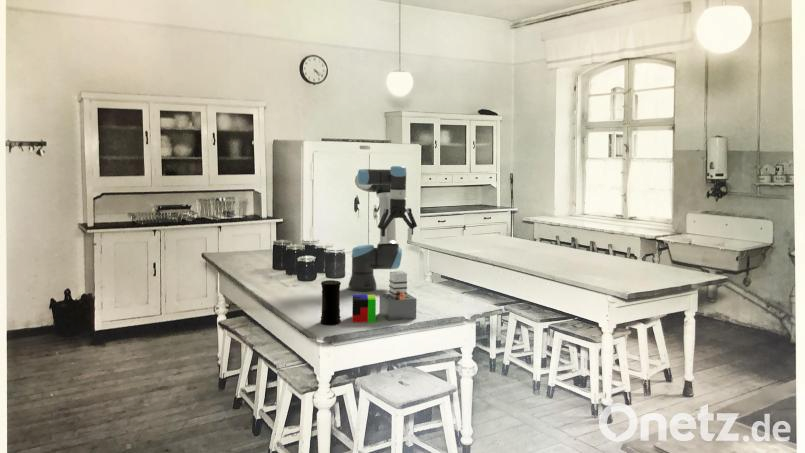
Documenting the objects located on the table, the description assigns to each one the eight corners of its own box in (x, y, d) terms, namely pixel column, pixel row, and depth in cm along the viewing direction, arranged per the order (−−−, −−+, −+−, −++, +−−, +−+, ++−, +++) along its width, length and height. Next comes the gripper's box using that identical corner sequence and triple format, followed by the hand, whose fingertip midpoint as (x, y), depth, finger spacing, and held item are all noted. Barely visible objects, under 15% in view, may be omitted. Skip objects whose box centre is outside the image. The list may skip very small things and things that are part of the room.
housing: (388, 320, 291) (389, 294, 289) (379, 313, 303) (379, 288, 301) (416, 318, 295) (416, 292, 294) (405, 311, 307) (406, 286, 306)
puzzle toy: (352, 316, 297) (352, 294, 296) (374, 316, 298) (374, 294, 297) (352, 322, 287) (352, 300, 286) (375, 322, 288) (375, 299, 287)
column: (393, 318, 295) (394, 274, 292) (388, 314, 301) (389, 271, 298) (406, 317, 297) (407, 273, 295) (401, 313, 303) (402, 271, 301)
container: (329, 318, 292) (329, 279, 290) (345, 322, 287) (345, 281, 285) (315, 323, 285) (315, 282, 283) (331, 326, 280) (331, 285, 277)
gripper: (378, 199, 305) (377, 244, 308) (424, 198, 317) (423, 242, 320) (371, 198, 312) (370, 242, 314) (416, 197, 324) (415, 240, 326)
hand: (397, 242), depth 317 cm, fingers open, 13 cm apart
